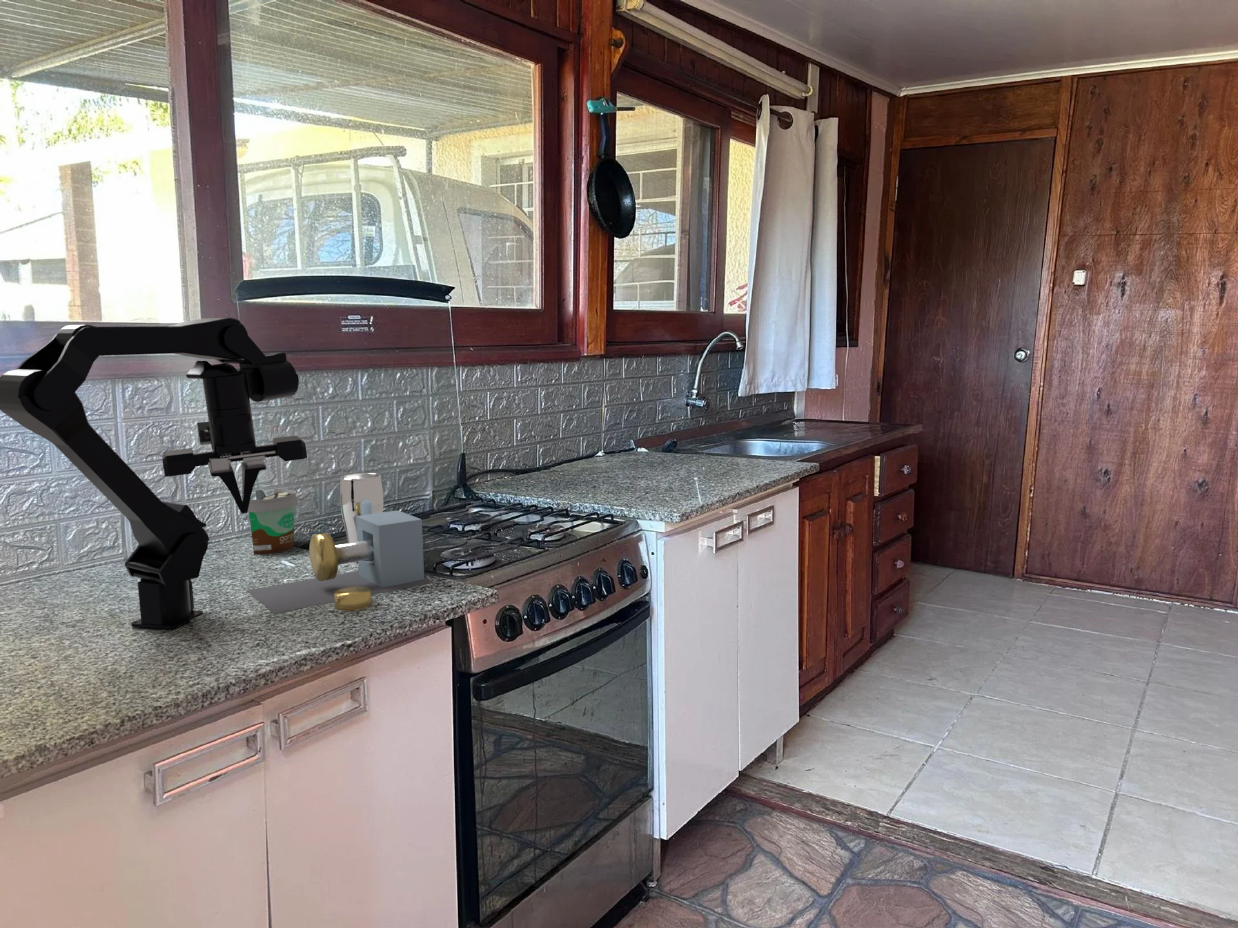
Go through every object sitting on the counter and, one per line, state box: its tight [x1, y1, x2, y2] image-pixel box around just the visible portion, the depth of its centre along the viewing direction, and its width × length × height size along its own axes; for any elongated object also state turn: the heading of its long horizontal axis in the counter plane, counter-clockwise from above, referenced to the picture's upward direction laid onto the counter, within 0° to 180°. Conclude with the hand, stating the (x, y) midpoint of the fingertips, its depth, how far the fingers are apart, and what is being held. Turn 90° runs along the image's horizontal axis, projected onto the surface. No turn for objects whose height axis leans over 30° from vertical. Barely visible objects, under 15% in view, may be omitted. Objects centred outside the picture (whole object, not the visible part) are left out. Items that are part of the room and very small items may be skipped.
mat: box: [246, 570, 434, 615], centre depth 133 cm, size 24×14×1 cm, turn 128°
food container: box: [247, 488, 299, 556], centre depth 158 cm, size 12×6×10 cm, turn 179°
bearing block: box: [356, 510, 425, 587], centre depth 137 cm, size 7×9×10 cm
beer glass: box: [339, 472, 384, 566], centre depth 147 cm, size 7×7×15 cm
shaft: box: [309, 532, 374, 581], centre depth 134 cm, size 15×7×7 cm, turn 128°
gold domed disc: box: [334, 587, 373, 612], centre depth 123 cm, size 5×5×2 cm
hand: (244, 512), depth 127 cm, fingers closed
